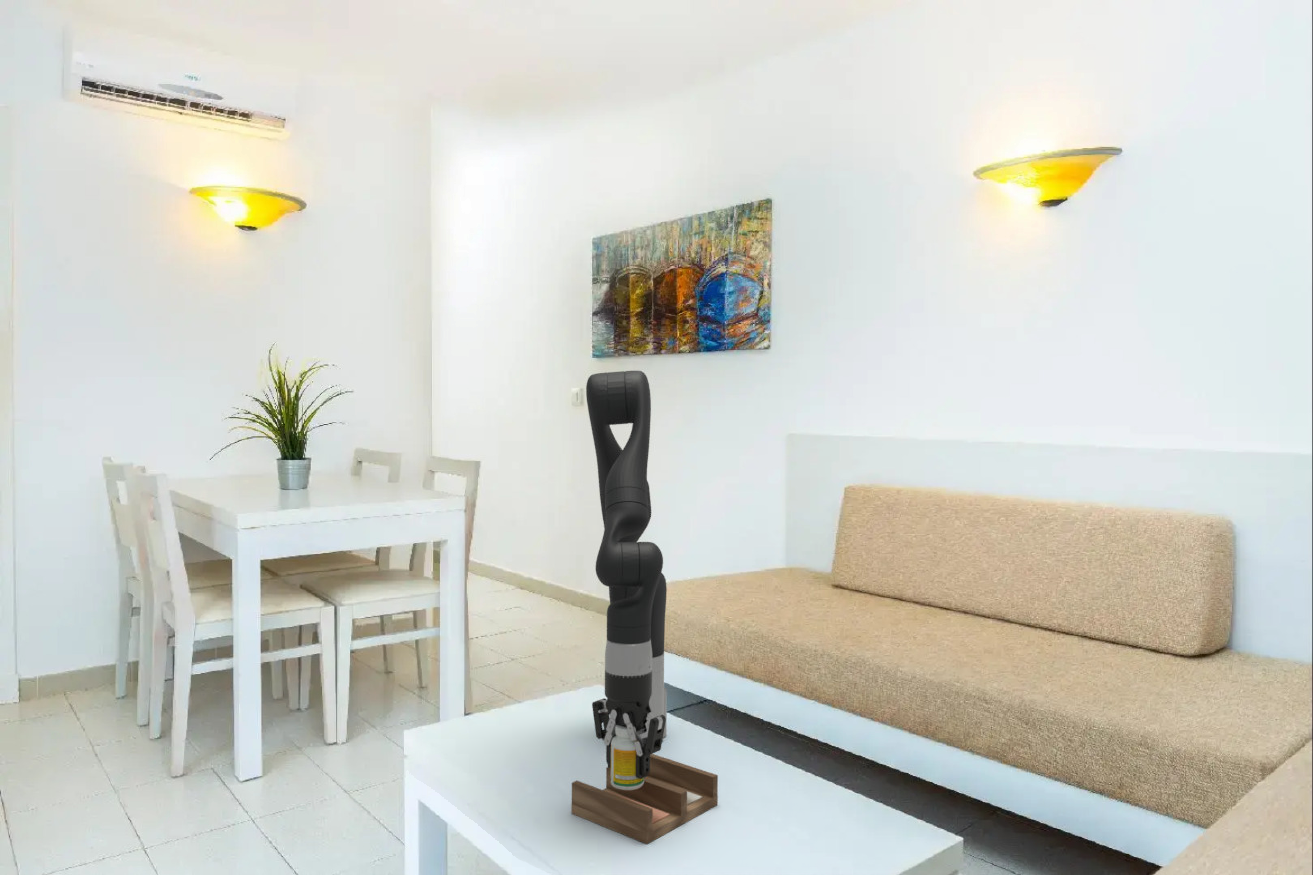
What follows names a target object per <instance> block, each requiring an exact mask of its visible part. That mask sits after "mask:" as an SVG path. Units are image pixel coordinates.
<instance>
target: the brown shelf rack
mask: <svg viewBox="0 0 1313 875" xmlns="http://www.w3.org/2000/svg"><path fill="white" fill-rule="evenodd" d="M605 773H606V776H605V777H606V782H605V783H606V784H605V786H606V788H603V789H601V788H598V787H596V786H594V785H593V786H592V785H590V784H587V783H585V782H583V781H579V780H575V781H572V782H571V805H570V806H571V810H570V811H571V812H570V813H571V815H575V816H577V817H580V818H582V819H584V820H587V821H590V822H591V823H594V824H597V825H599V826H602V827H604V828H606V829H609V830H611V831H614V832H616V833H619V834H622V835H624V836H626V837H629V838H631V839H633V840H635V841H637V842H638V841H639V842H641V843H643V844H645V845H648V844H650V843H652V842H654V841H655V840H657V839H658V838H661V837H662V836H664V835H666V834H668V833H670V832H672V831H673V830H675V829H676V828H678V827H680V826H683V825H684V824H686V823H687V822H689V821H691V820H694V819H695V818H697V817H698V816H700V815H702V814H704V813H706V812H707V811H709V810H711V809H713V808H715V807H716V806H717V805H719V804H718V801H719V800H718V798H719V797H718V793H719V792H718V784H719V783H718V781H719V779H718V778H719V777H718V774H715V773H712V772H710V771H706V770H703V769H701V768H696V767H694V766H690V765H688V764H685V763H682V762H679V761H675V760H673V759H669V758H667V757H664V756H660V755H657V754H655V753H653V754H651V755H650V772H649V774H648V775H647V776H646V777H644V784H643V785H642V786H641V787H640V788H638V789H635V790H621V789H617V788H615V787H613V786H612V785H611V769H610V768H608V766H607V767H606V771H605Z"/></svg>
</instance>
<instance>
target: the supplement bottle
mask: <svg viewBox="0 0 1313 875" xmlns="http://www.w3.org/2000/svg"><path fill="white" fill-rule="evenodd" d="M615 733H616V736H615V737H614V738H613V739H612V741H611V785H612V786H613V787H615V788H617V789H621V790H635V789H638V788H640V787H641V786H642V785H643V784H644V778H642V779H639V778H636V755H637V752H636V749H635V745H634V742H632V741H631V739H630V736H629V732H628V729H627V728H625V727H622V726H619V725H616V728H615ZM640 733H641V730H640V731H637V734H640ZM641 742H642V746H644V745H643V741H642V739H641Z"/></svg>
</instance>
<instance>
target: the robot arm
mask: <svg viewBox="0 0 1313 875" xmlns="http://www.w3.org/2000/svg"><path fill="white" fill-rule="evenodd" d="M585 386H586V388H585V389H586V390H585V395H586V396H585V397H586V404H587V410H588V417H589V422H590V427H591V428H590V429H591V432H592V438H593V443H594V444H593V445H594V450H595V455H596V463H597V464H596V465H597V476H598V489H599V500H600V508H601V509H600V510H601V516H602V521H603V528H604V530H603V535H602V539H601V543H600V546H599V550H598V552H597V557H596V559H595V560H596V561H595V574H596V577H597V579H598V580H599V582H600V583H601V584H602V585H604V586H605V587H608V594H609V595H608V596H609V603H610V604H608V607H607V609H606V644H605V650H604V696H605V698H602V699H601V698H600V699H598V700H595V701H593V702H592V703H591V708H592V713H593V721H594V722H593V723H594V730H595V736H596V738H597V740H602V741H603V742H604V745H605V746H606V747H605V748H606V750H605V754H606V756H605V757H606V758H605V760H606V764H607V767H608V768H610V769H611V741H612V739H613V738H614V737H615V736H616V733H615V728H616V725H619V726H622V727H625V728H627V729H628V732H629V736H630V739H631V741H632V742H634V745H635V749H636V752H637V755H636V778H639V779H642V778H644V777H646V776H647V775H648V774H649V772H650V755H651V754H655V753H656V752H657V753H658V752H660V751H661V749H662V744H663V741H664V738H665V737H667V726H668V725H667V723H668V722H667V719H668V718H667V716H668V714H667V712H668V710H667V705H668V704H667V703H668V702H667V701H668V699H667V698H668V696H667V695H668V692H667V690H668V689H667V688H665V633H666V632H665V630H666V629H665V627H666V607H667V606H666V605H667V592H668V589H667V581H666V580H667V579H666V577H665V575H664V574H663V573H662V571H663V567H664V566H663V565H664V557H663V552H662V551H661V549H660V547H659V546H658V545H657V544H656V543H655V542H652V541H639V540H640V538H641V537H642V535H643V534H644V533H645V531H646V529H647V527H648V526H649V524H650V521H651V518H652V504H651V502H652V501H651V492H650V485H649V481H648V464H649V463H648V461H649V452H650V437H651V436H650V434H651V414H652V405H651V404H652V401H651V398H652V397H651V389H650V383H649V380H648V376H647V375H646V374H645V372H643V371H642V370H625V371H624V370H623V371H622V370H621V371H610V372H609V371H607V372H598V373H593V374H591V375H589V377H588V379H587V381H586V385H585ZM629 424H632V426H631V431H630V435H629V436H628V437H629V438H628V439H627V442H626V444H625V445H624V447H623V448H622V447H621V445H620V444H619V443H618V441H617V439H616V437H615V436H614V434H613V431H612V428H611V425H613V426H616V425H629ZM640 730H641V733H640V734H637V731H640ZM641 739H642V741H643V745H644V746H642V742H641Z"/></svg>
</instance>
